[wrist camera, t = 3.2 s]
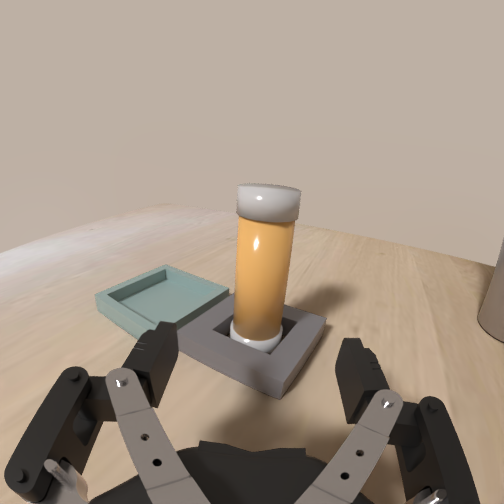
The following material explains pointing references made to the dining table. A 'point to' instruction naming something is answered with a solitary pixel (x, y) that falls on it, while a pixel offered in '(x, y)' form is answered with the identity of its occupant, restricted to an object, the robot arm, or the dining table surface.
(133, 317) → the parts tray
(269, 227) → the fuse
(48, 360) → the dining table surface
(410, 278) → the dining table surface
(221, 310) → the frame
